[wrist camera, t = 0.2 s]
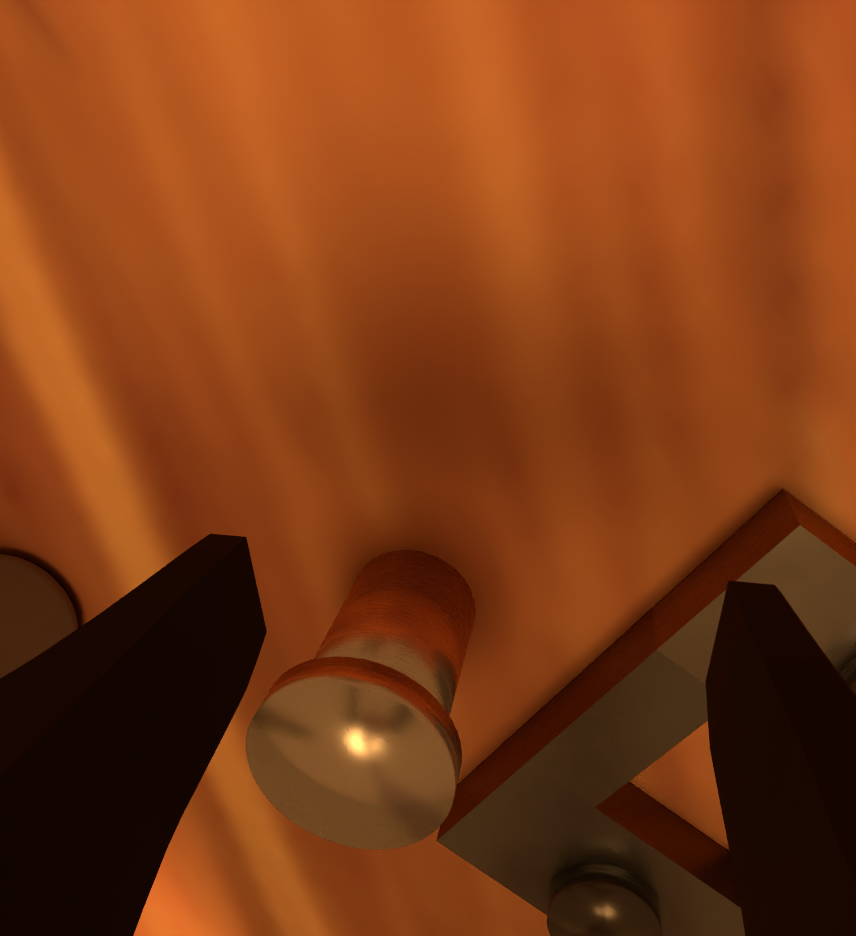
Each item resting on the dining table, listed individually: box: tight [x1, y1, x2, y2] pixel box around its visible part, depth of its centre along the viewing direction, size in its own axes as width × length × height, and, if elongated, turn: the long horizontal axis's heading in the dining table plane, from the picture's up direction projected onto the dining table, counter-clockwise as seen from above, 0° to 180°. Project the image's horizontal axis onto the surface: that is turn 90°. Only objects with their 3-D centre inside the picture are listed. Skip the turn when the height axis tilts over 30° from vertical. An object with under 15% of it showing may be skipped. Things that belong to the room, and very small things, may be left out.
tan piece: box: [437, 489, 856, 936], centre depth 23 cm, size 16×11×3 cm
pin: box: [246, 551, 475, 849], centre depth 21 cm, size 5×5×7 cm
